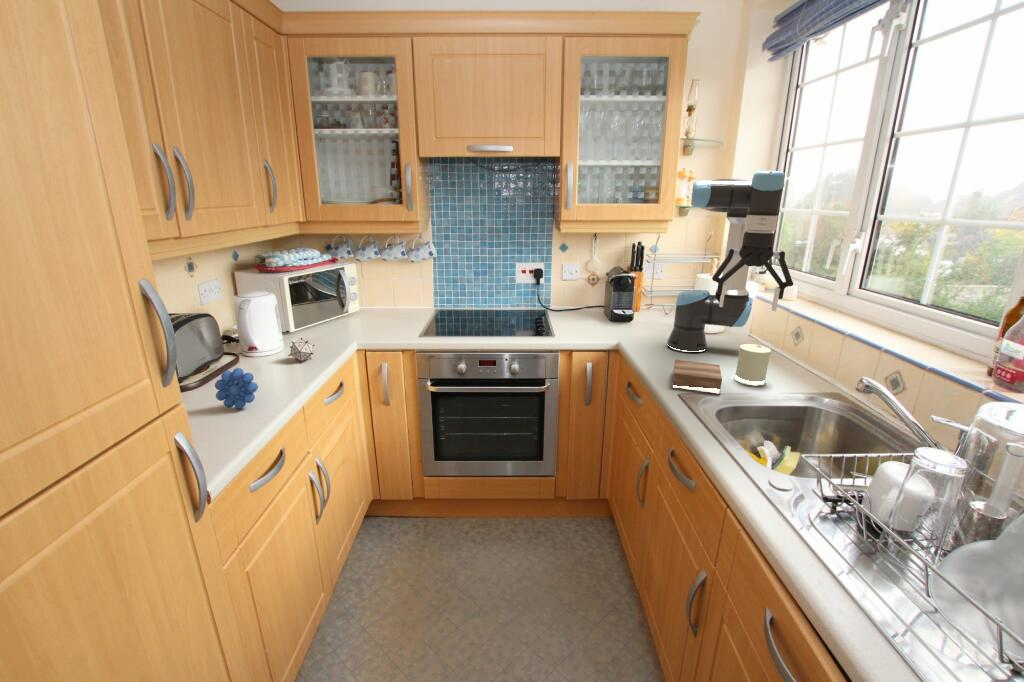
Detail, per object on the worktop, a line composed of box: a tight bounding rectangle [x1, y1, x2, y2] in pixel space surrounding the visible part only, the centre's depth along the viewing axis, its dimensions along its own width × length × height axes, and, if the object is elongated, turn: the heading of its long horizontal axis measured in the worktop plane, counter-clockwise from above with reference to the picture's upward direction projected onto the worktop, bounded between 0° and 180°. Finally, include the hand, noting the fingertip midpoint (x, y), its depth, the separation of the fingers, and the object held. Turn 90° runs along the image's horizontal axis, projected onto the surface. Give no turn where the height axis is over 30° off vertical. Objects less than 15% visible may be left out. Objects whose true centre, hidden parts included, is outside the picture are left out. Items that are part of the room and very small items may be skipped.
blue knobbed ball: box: [214, 367, 259, 410], centre depth 129 cm, size 12×7×12 cm, turn 91°
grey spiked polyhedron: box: [287, 337, 315, 364], centre depth 168 cm, size 9×8×10 cm
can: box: [735, 343, 772, 381], centre depth 154 cm, size 9×9×12 cm
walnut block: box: [671, 359, 723, 390], centre depth 152 cm, size 14×14×5 cm
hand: (746, 308), depth 133 cm, fingers open, 13 cm apart
